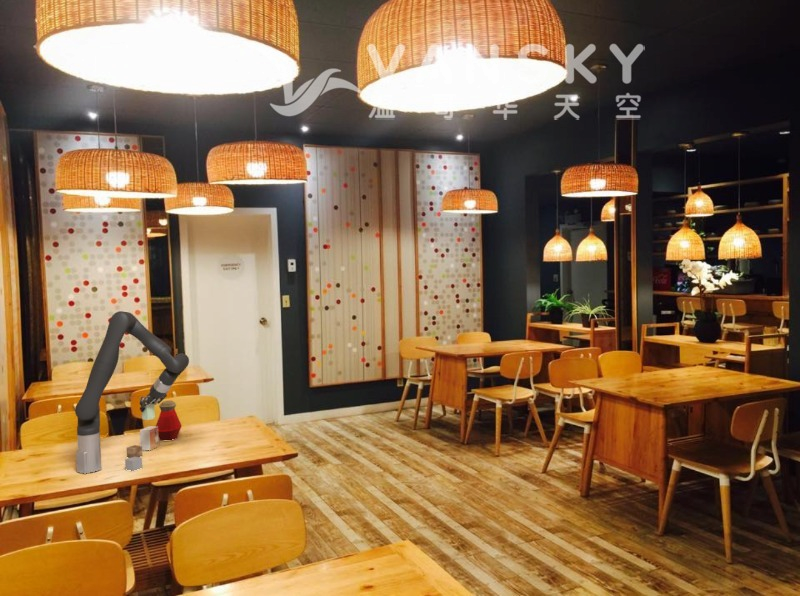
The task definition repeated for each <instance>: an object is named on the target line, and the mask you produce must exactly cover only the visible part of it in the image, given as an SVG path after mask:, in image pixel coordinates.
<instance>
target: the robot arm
mask: <svg viewBox="0 0 800 596" xmlns="http://www.w3.org/2000/svg"><path fill="white" fill-rule="evenodd" d="M125 334H129V335H131V336H132V337H134V338H136V339H137V340H138V341H139V342H140V343H141V345H143V346H144V348H146V349H147V351H148V352H150V353H151V354H152V355H153V356H155V357H157V358H158V359H159V360H160V362H161V363H162V364H163V366H164V370H163V371H162V372H161V373H160V375H159V376H158V377H157V378H156V379H155V381H154V382H153V384H152V385H151V386H150V388H149V393H147V395H146V396H145V397H144V396H141V397H140V399H139V400H140V401H139V405H140V407H139V410H140V412H141V413H142V412H143V411H144V410H145V409H146V407H147V406H148V405H150V404H151V403H152V404H154V406H156V405H157V404H159V405H160V404H161V403H162V402H163V401H164V399H166V398H167V397H168V395H167V394H168V392H169V391H170V390H171V388H172V386H173V385H174V383H175V382H176V380H177V378H178V377H179V376H180V375H181V374H182V373H183V372H184V370H185V369H187V367H188V366H189V363H190V359H189V356H188V355H187V354H186V353H181V352H180V353H178V354H176V355H175V356H173V355H172V354H171V353H172V348H171V347H170V346H169V344H167V343H166V342H164V341H163V340H162V339H160V338H159V337H157V336H156V335H155V334H154V333H152V331H150V330H149V329H147V327H145V325H143V324H142V323H141V321H139V319H138V318H136V316H135V315H134V314H133V313H131V312H129V311H123V310H122V311H116V312H115V313H113V314H112V316H111V317H110V319H109V322H108V326H107V330H106V333H105V337H104V338H103V341H102V343H101V345H100V348H99V351H98V353H97V355H96V357H95V360H94V361H93V365H92V367H91V370H90V373H89V375H88V380H87V383H86V386H85V389H84V391H83V392H82V395H81V396H80V399H79V400H78V402H77V404H76V405H75V408H74V413H75V417H77V426H76V427H77V428H76V433H77V434H76V435H77V451H76V452H75V457H76V458H75V459H76V473H78V472H80V474H83V473H84V475H87V474H91V473H90V472H93V473H96V472H95V471H97V472H99V471H101V470H102V450H101V449H102V448H101V434H100V433H101V431H100V430H101V429H100V426H101V415H100V414H101V409H100V401H101V398H102V395H103V393H104V390H105V389H106V387H107V385H108V384H109V382H110V381H111V378H112V377H113V376H114V375H113V374H114V372H115V371H116V367H117V365H118V361H119V357H120V345H121V343H122V340H123V338H124V336H125ZM100 469H101V470H100ZM98 470H99V471H98ZM86 473H87V474H86Z"/></svg>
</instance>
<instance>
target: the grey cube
mask: <svg viewBox="0 0 800 596" xmlns="http://www.w3.org/2000/svg"><path fill="white" fill-rule="evenodd" d="M124 463H125V464H124V465H125V466H124V467H125V470H126V469H127V470H131V471H130V472H132V471H134V470H137V469H140V468H142V469H143V457H132V458H125V459H124ZM127 470H126V471H127ZM140 470H141V469H140ZM137 471H138V470H137ZM134 472H135V471H134Z"/></svg>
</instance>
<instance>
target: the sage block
mask: <svg viewBox="0 0 800 596" xmlns="http://www.w3.org/2000/svg"><path fill="white" fill-rule="evenodd" d="M155 412H156V411H155V405H154V404H152V403H151V404H150V405H148V406H147V407H146V409H145V410H144V411H143V412H141V419H142V420H144V421H149V420H150V421H151V420H153V419H156V414H155Z"/></svg>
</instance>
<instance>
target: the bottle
mask: <svg viewBox="0 0 800 596" xmlns="http://www.w3.org/2000/svg"><path fill="white" fill-rule="evenodd" d="M176 406H177V403H176V402H175V401H173V400H165V401H164V400H163V401H161V402H160V403H159V406H158V407H159V410H160V413H159V416H158V419H157V422H156V424H155V426H157V427H158V435H159V440H160V441H161V440H171V441H173V440H172V439H174V440H176V439H177V438H178V436H179V432H181V428H182V423H181V421H180V419H179V416H178V414H177V412H176ZM175 438H176V439H175Z"/></svg>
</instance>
